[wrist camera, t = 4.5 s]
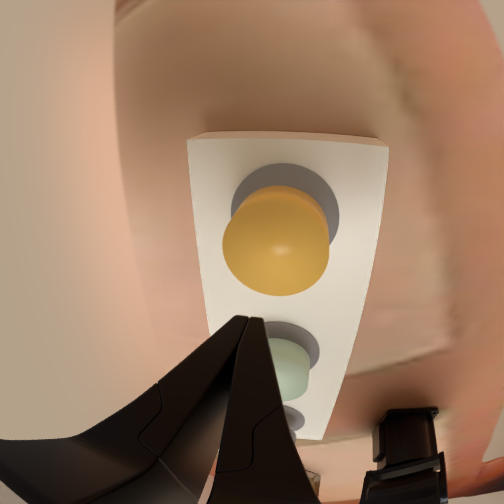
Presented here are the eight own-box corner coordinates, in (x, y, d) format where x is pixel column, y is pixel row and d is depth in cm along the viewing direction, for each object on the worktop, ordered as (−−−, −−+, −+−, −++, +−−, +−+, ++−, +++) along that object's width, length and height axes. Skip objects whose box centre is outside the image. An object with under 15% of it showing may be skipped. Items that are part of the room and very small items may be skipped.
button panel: (377, 138, 15) (390, 147, 13) (323, 417, 29) (321, 441, 26) (206, 131, 17) (185, 140, 14) (233, 406, 31) (226, 429, 28)
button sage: (314, 337, 19) (311, 365, 17) (307, 378, 21) (304, 404, 19) (245, 330, 19) (237, 357, 17) (248, 371, 22) (241, 396, 20)
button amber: (331, 186, 13) (334, 205, 11) (323, 270, 15) (323, 300, 13) (234, 181, 14) (218, 198, 12) (238, 263, 16) (226, 290, 14)
